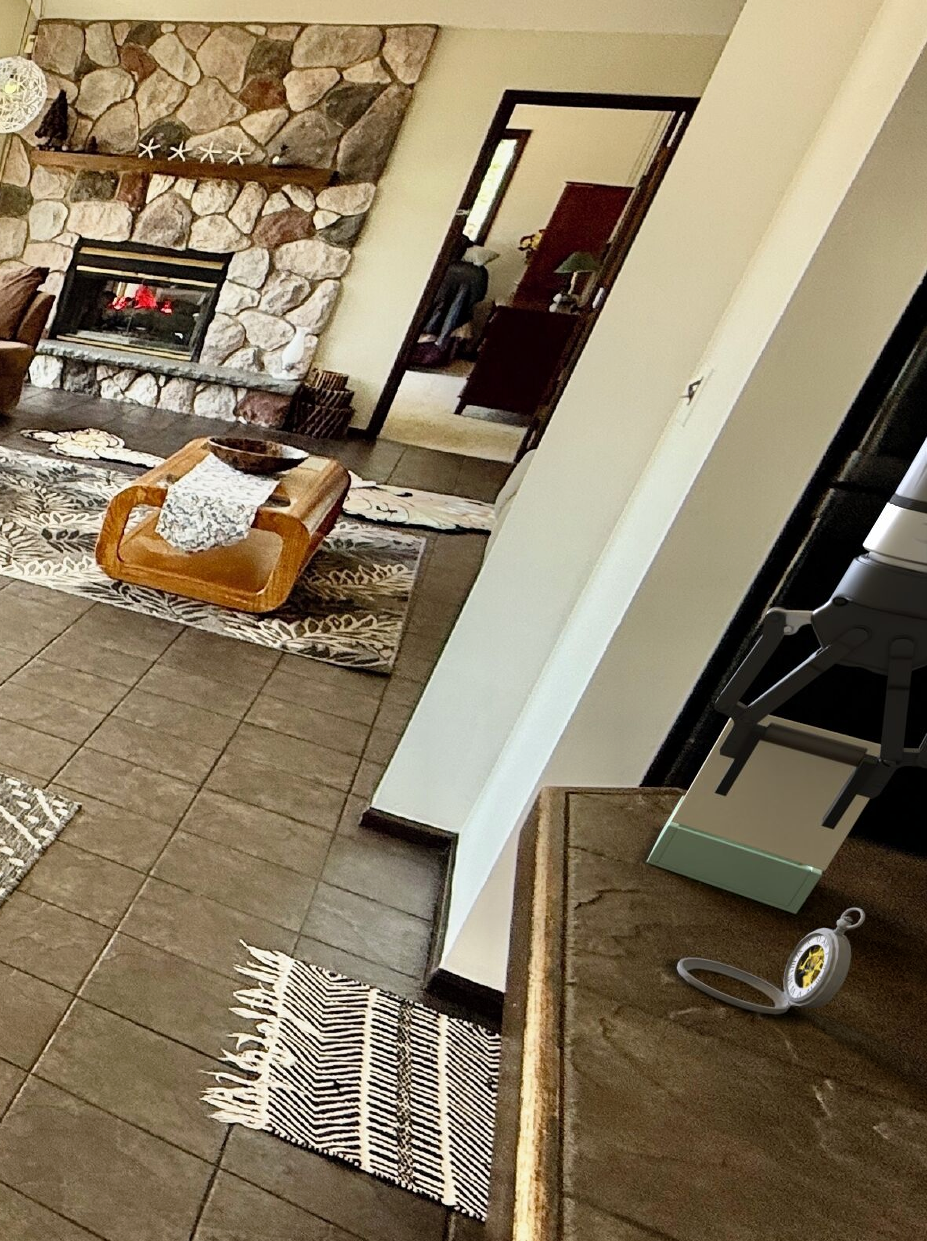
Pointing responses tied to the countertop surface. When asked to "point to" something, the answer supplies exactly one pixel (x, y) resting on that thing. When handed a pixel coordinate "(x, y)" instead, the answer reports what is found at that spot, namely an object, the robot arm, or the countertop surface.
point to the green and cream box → (733, 866)
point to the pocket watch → (791, 971)
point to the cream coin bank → (780, 792)
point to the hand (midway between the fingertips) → (774, 806)
